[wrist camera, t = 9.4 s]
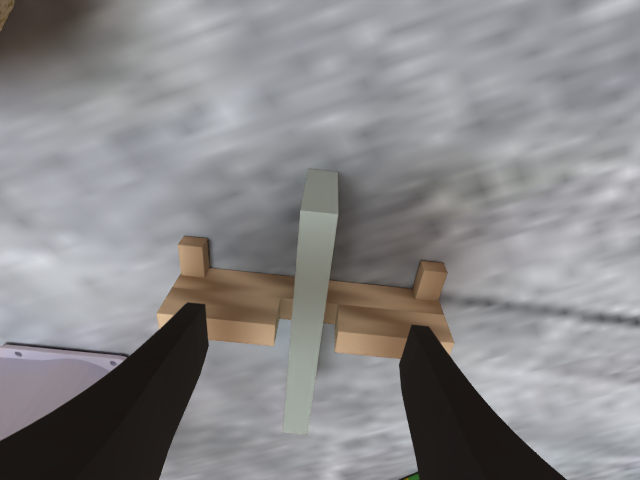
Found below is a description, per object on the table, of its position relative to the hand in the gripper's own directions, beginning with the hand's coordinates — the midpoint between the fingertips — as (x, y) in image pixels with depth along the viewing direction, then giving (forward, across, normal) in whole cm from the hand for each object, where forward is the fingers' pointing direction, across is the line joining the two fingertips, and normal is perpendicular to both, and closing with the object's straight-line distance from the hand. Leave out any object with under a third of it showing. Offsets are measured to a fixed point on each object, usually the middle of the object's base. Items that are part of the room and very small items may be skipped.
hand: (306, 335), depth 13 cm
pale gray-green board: (+10, 0, +5) cm, 11 cm away
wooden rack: (+10, 0, +5) cm, 11 cm away
